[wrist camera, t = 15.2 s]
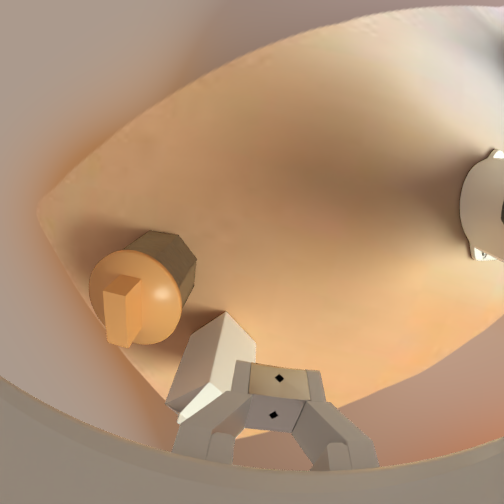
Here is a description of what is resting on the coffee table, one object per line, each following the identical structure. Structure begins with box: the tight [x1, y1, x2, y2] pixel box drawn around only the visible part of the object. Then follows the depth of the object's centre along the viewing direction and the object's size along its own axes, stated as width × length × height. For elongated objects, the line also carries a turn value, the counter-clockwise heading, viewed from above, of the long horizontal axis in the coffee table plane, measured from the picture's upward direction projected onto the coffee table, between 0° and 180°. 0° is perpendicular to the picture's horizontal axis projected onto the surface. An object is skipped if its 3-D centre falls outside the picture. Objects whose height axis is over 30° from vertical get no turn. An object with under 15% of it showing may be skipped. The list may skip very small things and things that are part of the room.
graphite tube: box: [123, 230, 197, 308], centre depth 34 cm, size 10×10×10 cm
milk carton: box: [165, 312, 256, 435], centre depth 33 cm, size 7×7×19 cm
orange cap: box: [89, 250, 182, 348], centre depth 28 cm, size 11×11×7 cm
